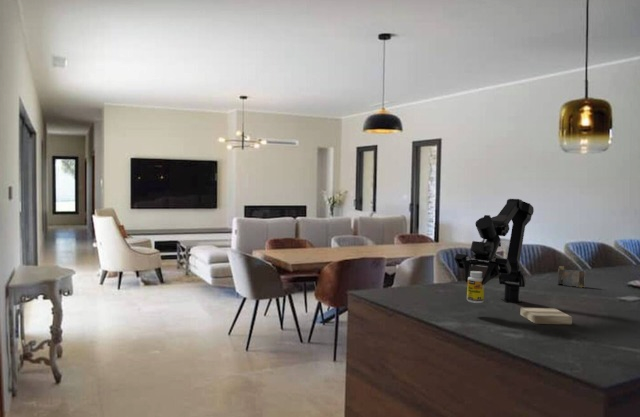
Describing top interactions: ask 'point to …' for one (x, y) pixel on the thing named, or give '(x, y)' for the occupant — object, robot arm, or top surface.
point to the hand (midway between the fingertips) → (474, 282)
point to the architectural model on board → (571, 277)
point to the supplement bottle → (475, 287)
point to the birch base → (545, 316)
